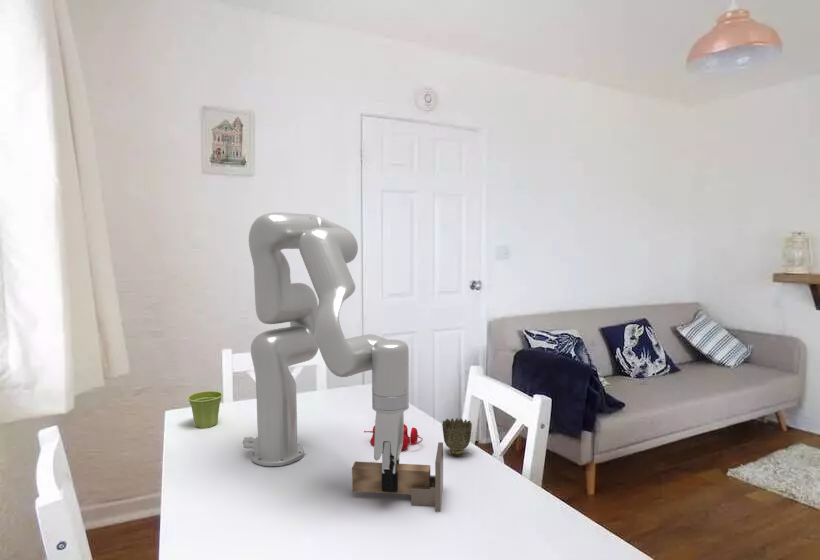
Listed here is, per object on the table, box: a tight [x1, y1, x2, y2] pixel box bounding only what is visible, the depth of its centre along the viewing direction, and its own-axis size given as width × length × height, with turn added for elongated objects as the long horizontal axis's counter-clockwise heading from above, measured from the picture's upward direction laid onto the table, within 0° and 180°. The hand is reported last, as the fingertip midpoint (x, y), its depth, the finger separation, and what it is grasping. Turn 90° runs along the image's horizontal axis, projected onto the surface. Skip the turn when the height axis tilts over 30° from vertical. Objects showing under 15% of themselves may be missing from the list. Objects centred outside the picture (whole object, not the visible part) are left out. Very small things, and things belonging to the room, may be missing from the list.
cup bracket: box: [410, 442, 444, 513], centre depth 106 cm, size 6×10×10 cm, turn 173°
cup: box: [441, 417, 473, 457], centre depth 129 cm, size 8×7×8 cm
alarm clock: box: [363, 423, 423, 452], centre depth 136 cm, size 10×6×15 cm
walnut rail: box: [351, 461, 431, 495], centre depth 107 cm, size 16×3×5 cm, turn 83°
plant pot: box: [187, 390, 224, 429], centre depth 150 cm, size 9×9×9 cm
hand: (391, 486), depth 107 cm, fingers closed on walnut rail, 3 cm apart
